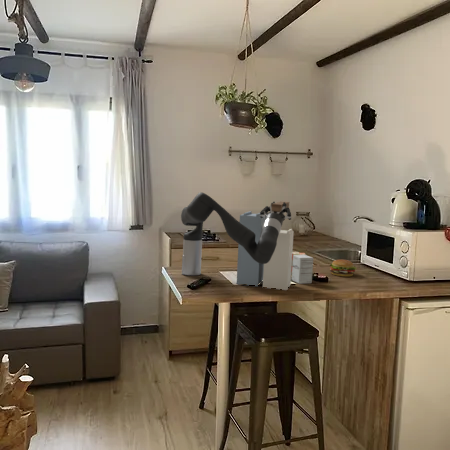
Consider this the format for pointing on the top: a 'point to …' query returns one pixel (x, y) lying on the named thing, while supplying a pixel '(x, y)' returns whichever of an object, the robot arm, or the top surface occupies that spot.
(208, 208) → the robot arm
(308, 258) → the supplement box
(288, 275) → the end-cap post
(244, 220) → the slate stand
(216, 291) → the top surface
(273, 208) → the walnut slat
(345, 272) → the food
